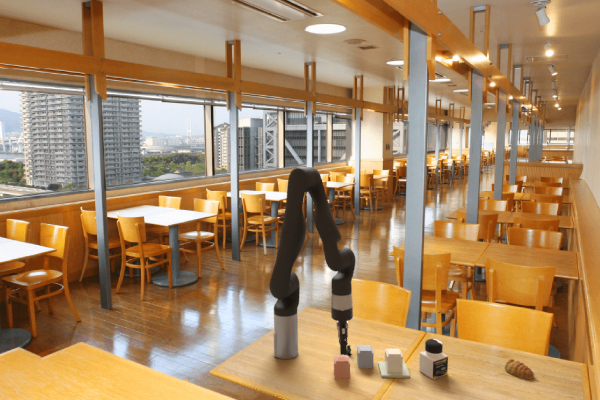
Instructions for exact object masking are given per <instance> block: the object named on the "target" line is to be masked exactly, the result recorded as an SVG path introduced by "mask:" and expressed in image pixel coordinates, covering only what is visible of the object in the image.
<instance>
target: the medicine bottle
mask: <svg viewBox="0 0 600 400" xmlns="http://www.w3.org/2000/svg"><path fill="white" fill-rule="evenodd" d="M443 348H444V344H443V342H442V341H441V340H438V339H435V338H429V339H426V340H425V344H424V351H421V352H419V365H418V366H419V368H418V369H419V371H420V373H423V374H424V375H426V376H427V377H429V378H430V379H432V380H435V379H437V378H441V377H444V376H446V375H448V370H449V369H448V368H449V367H448V366H449V355H448V354H446V353H444V352H443V351H444V349H443Z"/></svg>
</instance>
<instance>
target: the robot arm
mask: <svg viewBox="0 0 600 400" xmlns="http://www.w3.org/2000/svg"><path fill="white" fill-rule="evenodd" d="M325 189H326V188H325V186H324V182H323V179H322V176H321V173H320V171H319V170H318V169H317V168H315V167H311V166H301V167H300V166H299V167H295V168H293V169H292V170H291V171H290V173H289V175H288V181H287V187H286V191H287V192H286V202H285V208H284V214H283V215H284V216H283V222H282V225H281V229H280V235H279V243H278V247H277V251H276V258H275V263H274V266H273V270H272V273H271V277H270V280H269V284H268V285H269V292H270V294H271V295H272V297H273V298H275V299H277V301H276V302H275V303H274V305H273V323H274V324H273V327H274V330H273V354H274V356H273V357H274V358H279V359H282V360H290V359H294V358H296V357H297V356H298V355H299V331H298V329H299V327H298V325H299V323H298V308H299V304H300V293H301V292H300V288H301V286H300V279H299V277H298V275H297V274H296V273H295V272H294V271H293V267H294V265H295V262H296V260H297V259H298V257H299V256H300V253H301V252H302V249H303V247H304V243H305V239H306V234H307V227H308V226H307V222H306V218H305V215H304V211H303V209H304V208H303V207H304V206H303V204H304V199H305V195H306V193H308V195H309V196H310V197H311V199H312V203H313V206H314V225H315V228H316V231H317V234H318V236H319V237H320V240H321V242H322V247H323V248H322V249H323V253H324V259H325V260H324V261H325V263H326V265H327V267H328V268H329V269H330V270H331V271H332V272H337V273H336V274H335V275H334V276H332V278H331V285H330V287H331V295H330V298H331V299H330V305H331V306H330V314H331V319H333V320H334V321H336V322H335V323H336V331H337V338H338V343H339V353H340V354H339V355H346V354H347V346H348V337H349V324H348V322H349V321H351V320H352V319H353V317H354V316H353V315H354V312H353V311H354V310H353V309H354V308H353V307H354V306H353V303H354V302H353V291H352V289H353V287H352V280H353V278H354V277H353V276H354V272H355V268H356V255H355V253H354V251H353V250H352V249H351V248H348V247H343V248H339V247H338V243H339V242H341V240H342V234H341V232H340V230H339V227H338V225H337V223H336V221H335V218H334V216H333V213H332V211H331V208H330V205H329V204H330V203H329V200H328V197H327V193H326V190H325Z"/></svg>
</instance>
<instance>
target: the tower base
mask: <svg viewBox="0 0 600 400" xmlns="http://www.w3.org/2000/svg"><path fill="white" fill-rule="evenodd" d="M403 358H404V356H403V353H402V351H401V349H400V348H385V349H384V361H377V365H378V368H379V373H380V376H381V378H388V379H389V378H398V379H399V378H402V379H403V378H411V374H410V372H409V370H408V369H409V368H408V366H407V364H406V362H405V361H403V360H404V359H403Z"/></svg>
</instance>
